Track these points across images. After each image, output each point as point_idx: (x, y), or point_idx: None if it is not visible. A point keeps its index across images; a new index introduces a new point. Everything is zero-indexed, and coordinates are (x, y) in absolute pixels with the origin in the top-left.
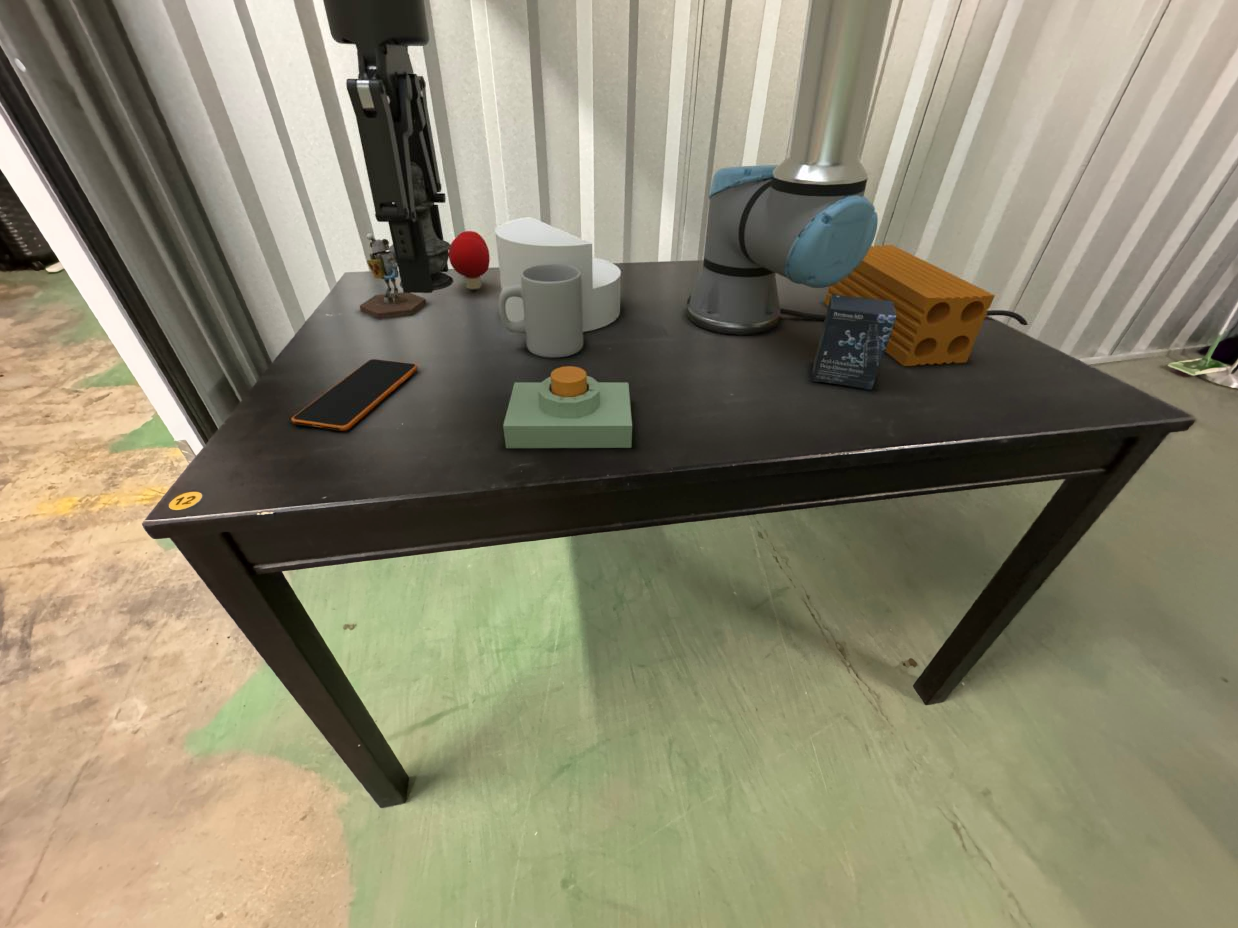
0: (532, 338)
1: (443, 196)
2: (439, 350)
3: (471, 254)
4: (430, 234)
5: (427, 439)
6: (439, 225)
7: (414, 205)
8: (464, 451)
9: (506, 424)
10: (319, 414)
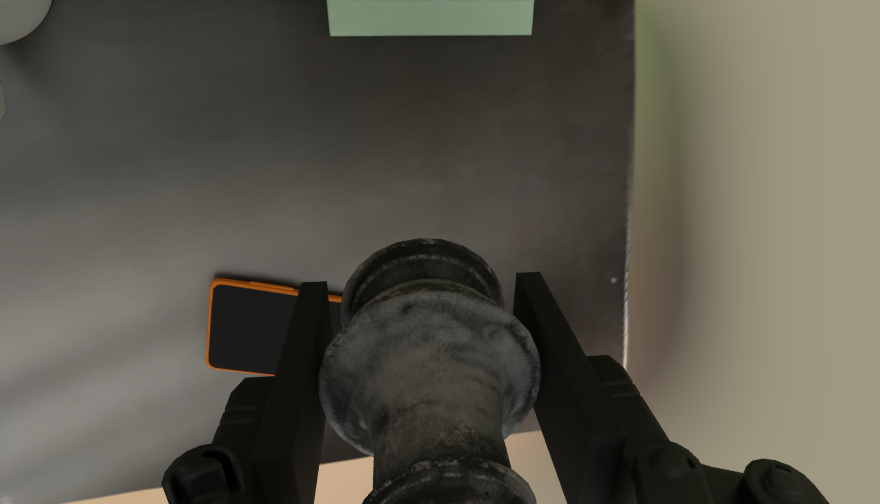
0: (14, 19)
1: (205, 473)
2: (102, 262)
3: None
4: (464, 379)
5: (477, 187)
6: (302, 389)
7: (644, 497)
8: (519, 112)
9: (526, 27)
10: None
